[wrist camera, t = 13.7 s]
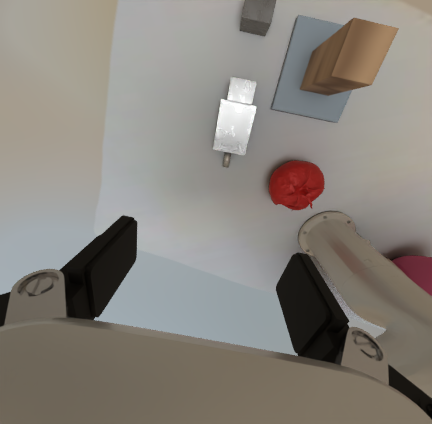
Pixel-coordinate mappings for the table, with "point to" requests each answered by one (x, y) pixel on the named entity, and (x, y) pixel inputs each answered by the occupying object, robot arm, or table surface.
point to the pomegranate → (296, 184)
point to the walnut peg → (348, 58)
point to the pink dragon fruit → (416, 270)
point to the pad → (295, 70)
